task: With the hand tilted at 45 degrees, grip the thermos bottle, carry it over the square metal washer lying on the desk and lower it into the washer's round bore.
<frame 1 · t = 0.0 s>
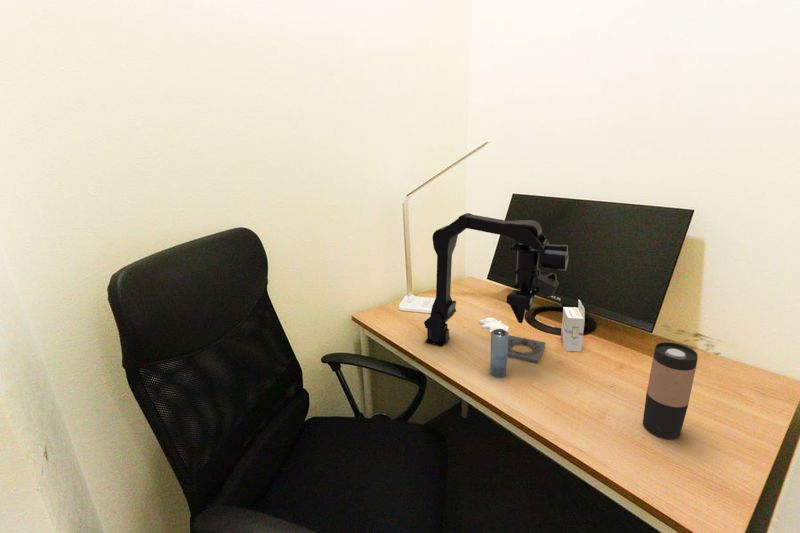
hand: (524, 316, 111), 15 cm above the table, tool pointing down, fingers open, 9 cm apart
travel mug: (660, 429, 86), on the table
astronaut figurine: (493, 328, 137), on the table
thermos bottle: (498, 373, 109), on the table
ink cartridge box: (570, 345, 123), on the table
square metal washer: (522, 350, 121), on the table
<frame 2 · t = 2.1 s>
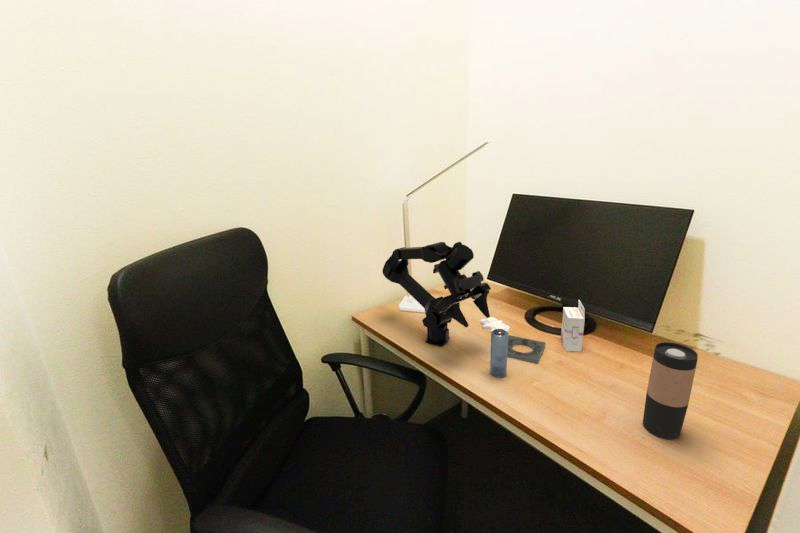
hand: (478, 322, 112), 13 cm above the table, tool tilted 45°, fingers open, 9 cm apart
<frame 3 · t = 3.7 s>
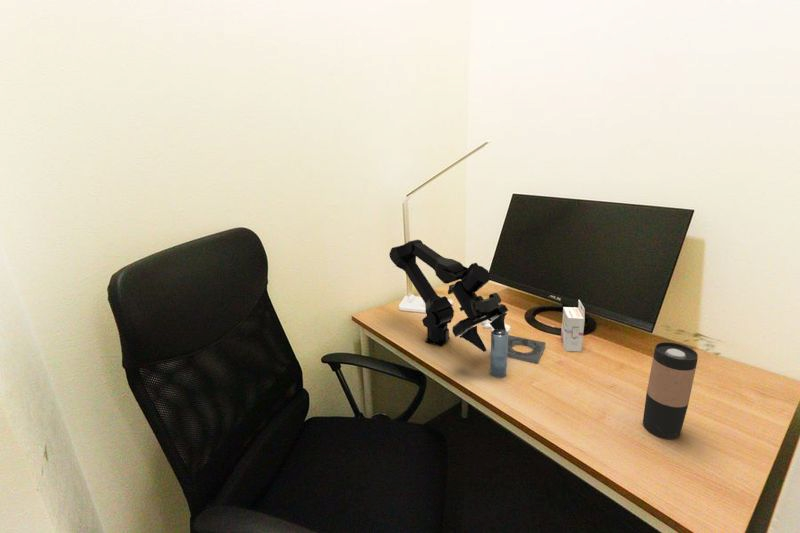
hand: (496, 345, 108), 9 cm above the table, tool tilted 45°, fingers open, 9 cm apart
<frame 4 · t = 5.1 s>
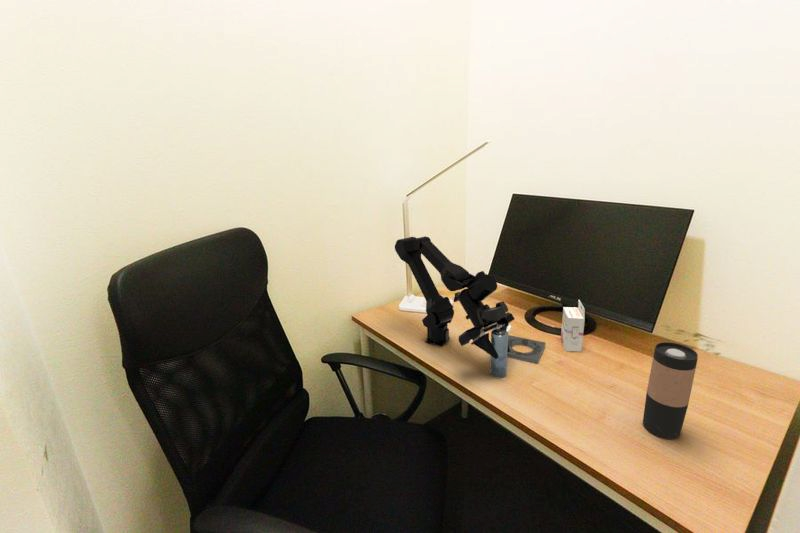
hand: (502, 355, 106), 7 cm above the table, tool tilted 45°, fingers closed on thermos bottle, 5 cm apart
thermos bottle: (498, 373, 109), on the table, touching gripper
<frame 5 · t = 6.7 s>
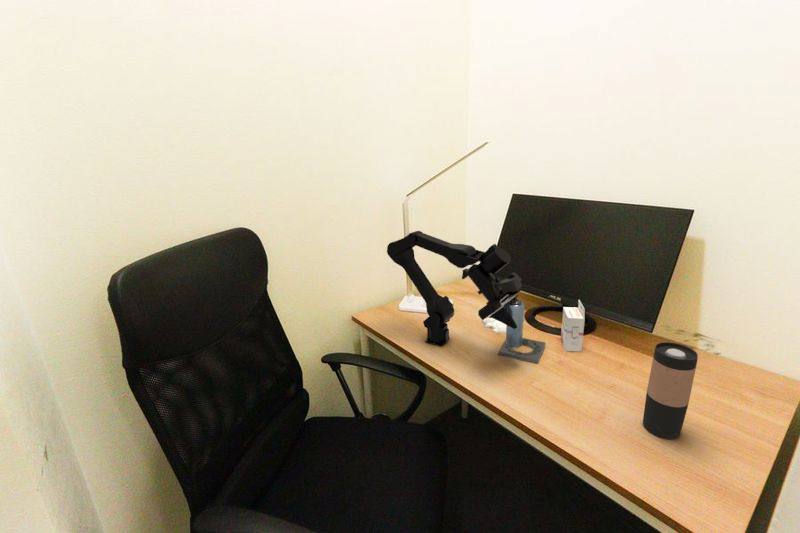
hand: (519, 324, 109), 13 cm above the table, tool tilted 45°, fingers closed on thermos bottle, 5 cm apart
thermos bottle: (513, 343, 112), point 7 cm above the table, touching gripper
when the fingers open (9 cm above the table, at t = 8.7 s): thermos bottle drops 2 cm, resting in square metal washer.
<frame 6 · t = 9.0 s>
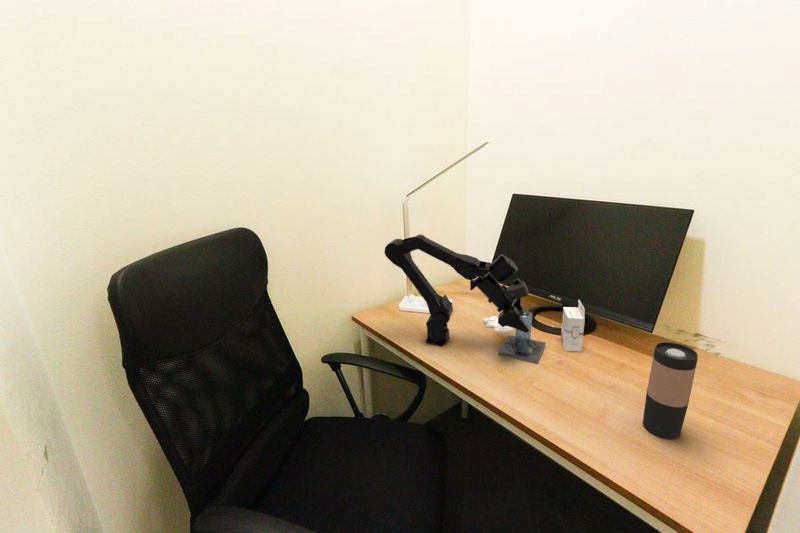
hand: (528, 325, 118), 9 cm above the table, tool tilted 45°, fingers open, 8 cm apart
thermos bottle: (521, 349, 121), resting in square metal washer
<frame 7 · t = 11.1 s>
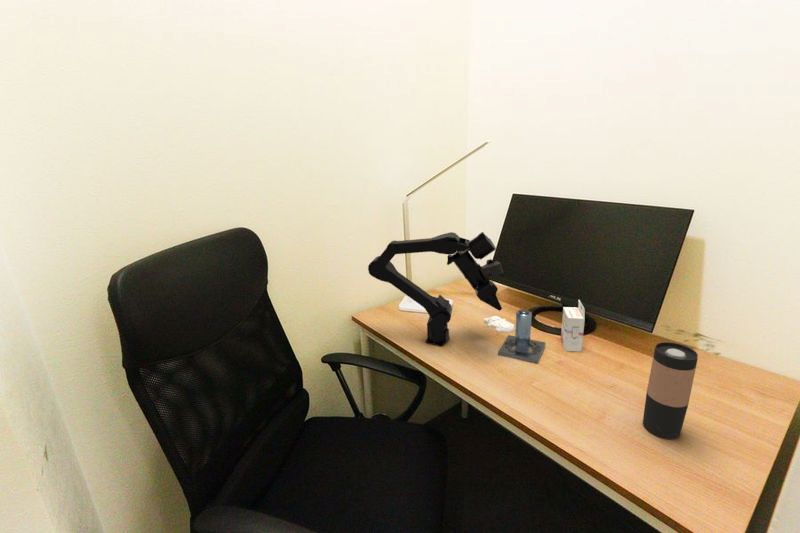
hand: (497, 305, 121), 14 cm above the table, tool tilted 35°, fingers open, 9 cm apart
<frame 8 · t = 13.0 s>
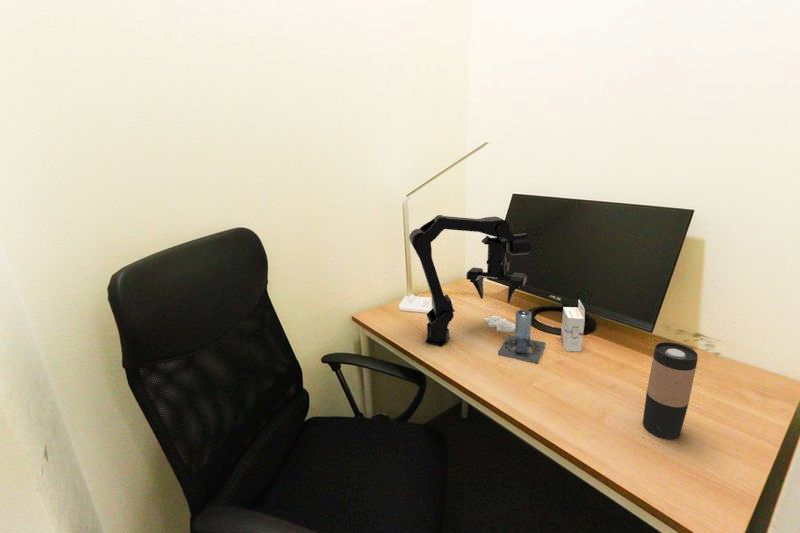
hand: (495, 300, 127), 13 cm above the table, tool pointing down, fingers open, 9 cm apart
at the end: thermos bottle 0.1 cm off-centre on the square metal washer, point 0.0 cm above the square metal washer's base; thermos bottle tilted 1°; the gripper is holding nothing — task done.
